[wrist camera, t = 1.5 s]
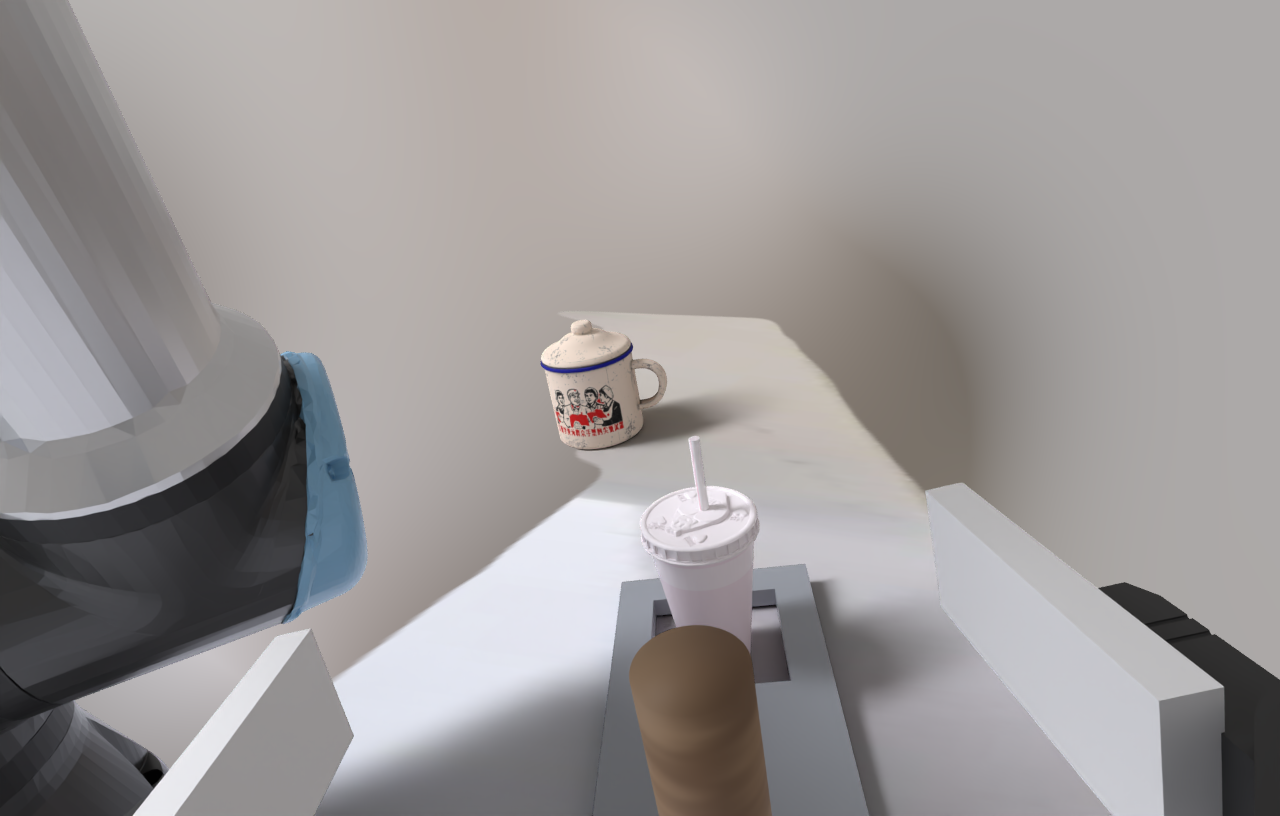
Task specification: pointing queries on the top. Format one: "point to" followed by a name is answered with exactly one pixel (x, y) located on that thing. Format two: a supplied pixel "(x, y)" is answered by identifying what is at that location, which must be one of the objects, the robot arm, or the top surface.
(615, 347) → the teacup with lid
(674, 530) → the smoothie
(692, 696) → the cup holder tray
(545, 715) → the top surface
